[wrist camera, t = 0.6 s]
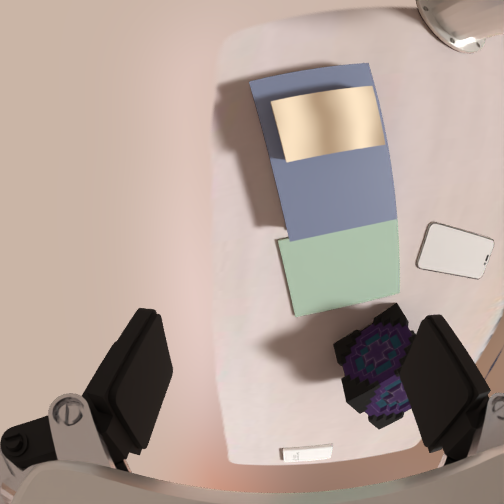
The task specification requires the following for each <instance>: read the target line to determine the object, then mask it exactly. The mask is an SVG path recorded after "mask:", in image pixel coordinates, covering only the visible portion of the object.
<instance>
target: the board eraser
mask: <svg viewBox="0 0 504 504" xmlns="http://www.w3.org/2000/svg"><path fill="white" fill-rule="evenodd" d="M271 107H272V111H273V115H274V118H275V122H276V126H277V130H278V134H279V137H280V141H281V145H282V149H283V153H284V157H285V160H286V162H291V161H296V160H301V159H306V158H311V157H316V156H321V155H326V154H331V153H337V152H343V151H348V150H354V149H361V148H367V147H373V146H380V145H385V139H384V134H383V129H382V124H381V119H380V115H379V110H378V106H377V102H376V98H375V94H374V90H373V86H363V87H354V88H345V89H337V90H330V91H323V92H317V93H311V94H305V95H299V96H294V97H289V98H284V99H279V100H275V101H271Z"/></svg>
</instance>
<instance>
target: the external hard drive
mask: <svg viewBox="0 0 504 504" xmlns="http://www.w3.org/2000/svg"><path fill="white" fill-rule="evenodd" d="M332 449H333V444H325V445H316V446H305V447H292V448H283V459H284V462H299V461H312V460H322V459H330V457H331V453H332Z"/></svg>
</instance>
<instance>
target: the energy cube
mask: <svg viewBox="0 0 504 504" xmlns="http://www.w3.org/2000/svg"><path fill="white" fill-rule="evenodd" d="M415 336H416V334H415V333H414V331H413V330H412V331H411V332H410V330H409V328H408V320H407V318H406V317H405V315H404V314H403V312H402V310H401V309H400V307H399V305H398V304H397V303H396V304H394V305H393V306H391V307H390V308H388V309H387V310H386V311H384V312H383V313H381V314H380V315H378V316H377V317H375V318H374V322H373V324H372V325H370V326H369V327H367V328H366V329H364V330H363V331H361V332H360V331H358V330H355V331H354V332H352V333H351V334H349V335H347V336H346V337H344V338H342V339H341V340H339V341H338V342H336V343H334V344H333V345H334V349H335V353H336V358H337V362H338V363H339V364H340V365H341V366H343V369H344V373H345V377H343V378H342V379H341V380H342V384H343V389H344V394H345V398H346V402H347V403H348V404H349V405H350V406H351V407H352V408H354V409H355V410H356V411H357V412H358V413H362V412H365V413H367V414H368V419H369V422H370V423H372V424H373V425H374V426H375V427H377V428H378V429H381V428H383V427H385V426H387V425H389V424H391V423H393V422H395V421H397V420H399V419H401V418H403V415H404V412H406V411H408V410H409V409H411V406H410V403H409V400H408V397H407V395H406V392H405V390H404V387H403V384H402V382H401V379H400V371H401V368H402V366H403V364H404V362H405V360H406V357H407V355H408V353H409V351H410V348H411V346H412V344H413V341H414V339H415Z"/></svg>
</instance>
